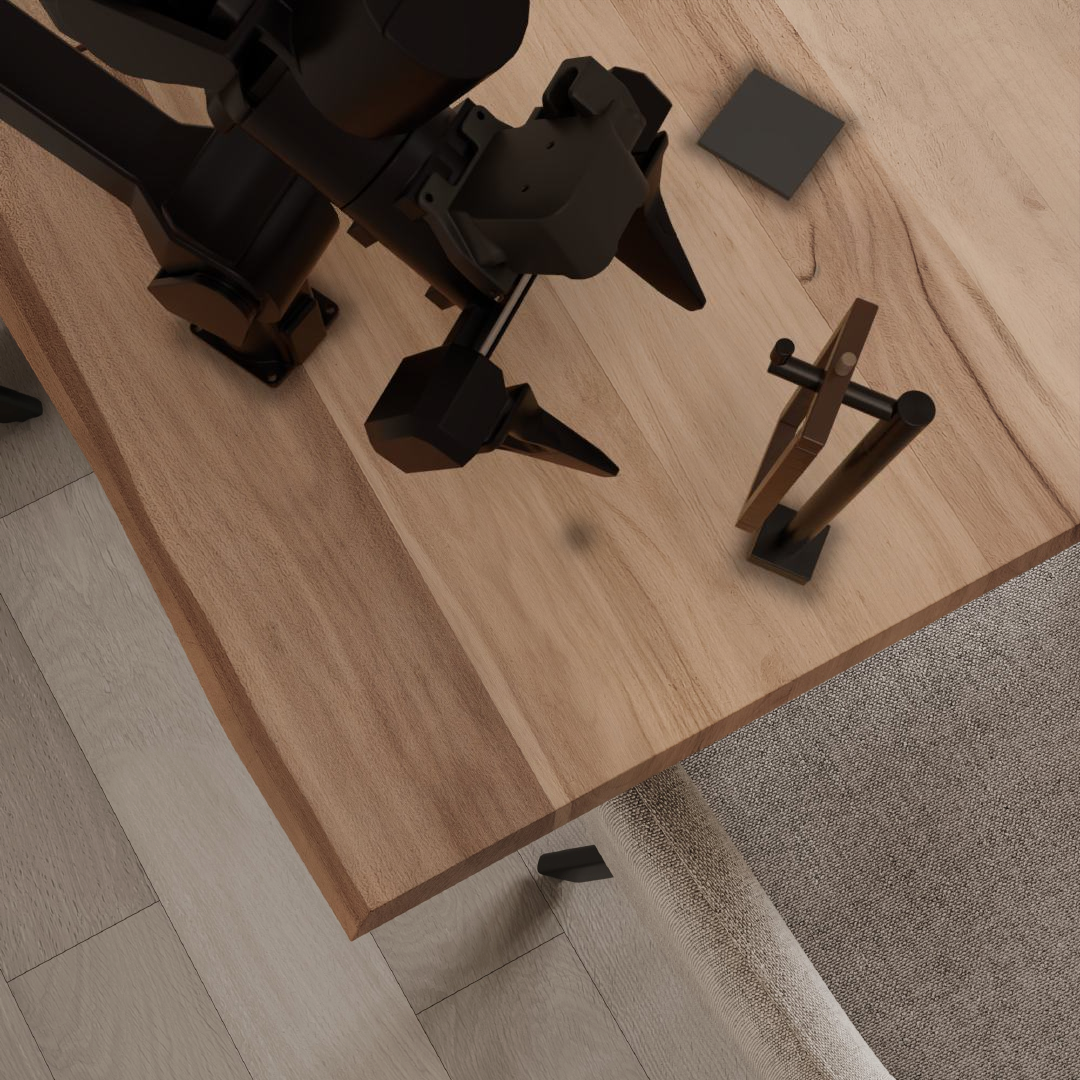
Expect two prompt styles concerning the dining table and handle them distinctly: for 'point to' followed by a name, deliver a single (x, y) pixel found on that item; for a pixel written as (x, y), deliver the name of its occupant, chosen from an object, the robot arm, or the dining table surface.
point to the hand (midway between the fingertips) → (657, 388)
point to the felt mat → (771, 133)
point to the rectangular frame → (807, 418)
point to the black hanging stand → (800, 535)
